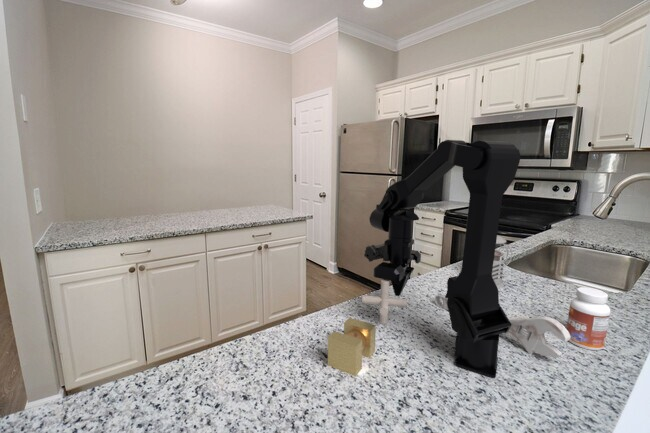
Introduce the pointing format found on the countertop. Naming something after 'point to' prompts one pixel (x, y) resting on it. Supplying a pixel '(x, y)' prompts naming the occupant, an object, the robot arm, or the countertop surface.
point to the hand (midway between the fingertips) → (397, 295)
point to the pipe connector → (384, 301)
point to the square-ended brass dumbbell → (351, 346)
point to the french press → (497, 261)
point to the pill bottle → (588, 318)
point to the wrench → (530, 331)
